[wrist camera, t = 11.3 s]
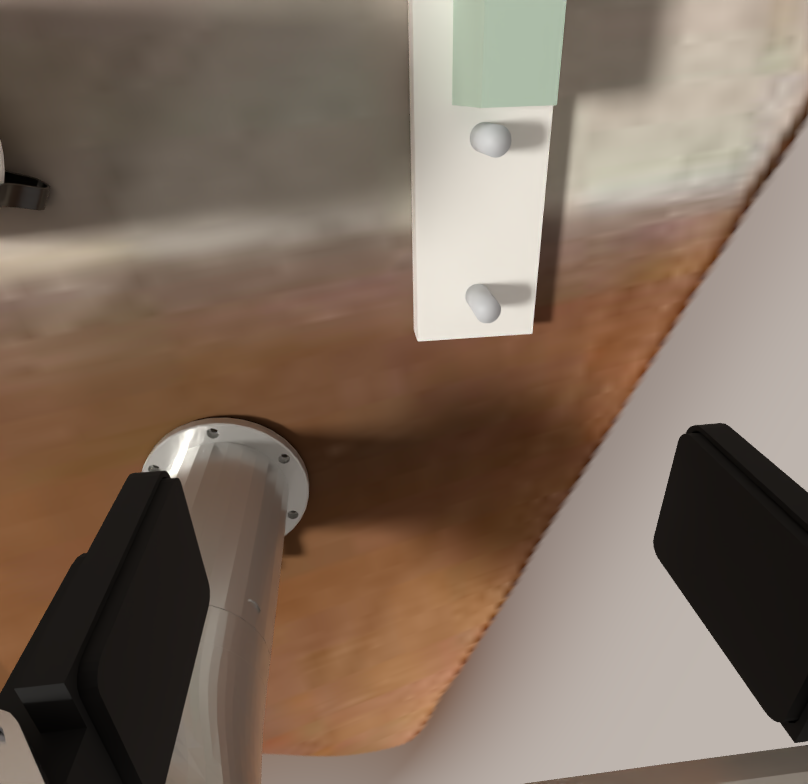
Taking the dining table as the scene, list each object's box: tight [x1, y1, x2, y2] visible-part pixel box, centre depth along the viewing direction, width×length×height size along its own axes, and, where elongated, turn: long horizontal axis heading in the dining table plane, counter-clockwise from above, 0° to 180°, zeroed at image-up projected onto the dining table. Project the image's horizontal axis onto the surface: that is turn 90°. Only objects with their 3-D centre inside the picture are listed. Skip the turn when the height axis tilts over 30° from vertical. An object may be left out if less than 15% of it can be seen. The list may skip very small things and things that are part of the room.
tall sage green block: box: [452, 0, 567, 108], centre depth 27 cm, size 6×4×7 cm, turn 2°
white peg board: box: [408, 0, 553, 341], centre depth 31 cm, size 25×8×5 cm, turn 1°
